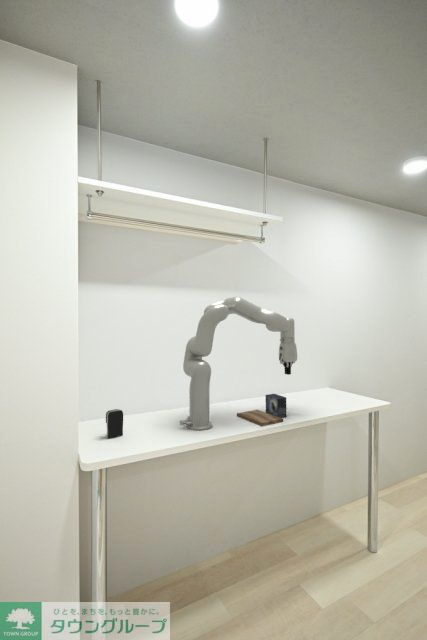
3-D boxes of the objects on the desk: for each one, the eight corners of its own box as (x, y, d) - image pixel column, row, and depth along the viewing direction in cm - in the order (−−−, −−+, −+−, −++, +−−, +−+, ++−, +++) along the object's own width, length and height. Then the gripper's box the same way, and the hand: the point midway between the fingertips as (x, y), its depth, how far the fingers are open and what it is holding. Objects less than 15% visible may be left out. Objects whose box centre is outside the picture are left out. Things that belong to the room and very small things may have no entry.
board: (261, 426, 153) (261, 423, 153) (236, 416, 170) (236, 413, 170) (283, 421, 161) (283, 418, 161) (257, 412, 178) (257, 409, 178)
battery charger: (119, 433, 143) (120, 407, 143) (123, 435, 140) (123, 409, 141) (104, 436, 139) (104, 410, 139) (107, 439, 136) (108, 412, 136)
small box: (264, 413, 175) (264, 394, 175) (274, 412, 178) (274, 393, 178) (277, 419, 165) (277, 398, 165) (287, 417, 168) (287, 397, 168)
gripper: (282, 341, 170) (282, 376, 169) (302, 340, 178) (302, 373, 177) (272, 340, 176) (272, 374, 176) (292, 339, 184) (292, 372, 184)
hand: (287, 374), depth 177 cm, fingers closed
